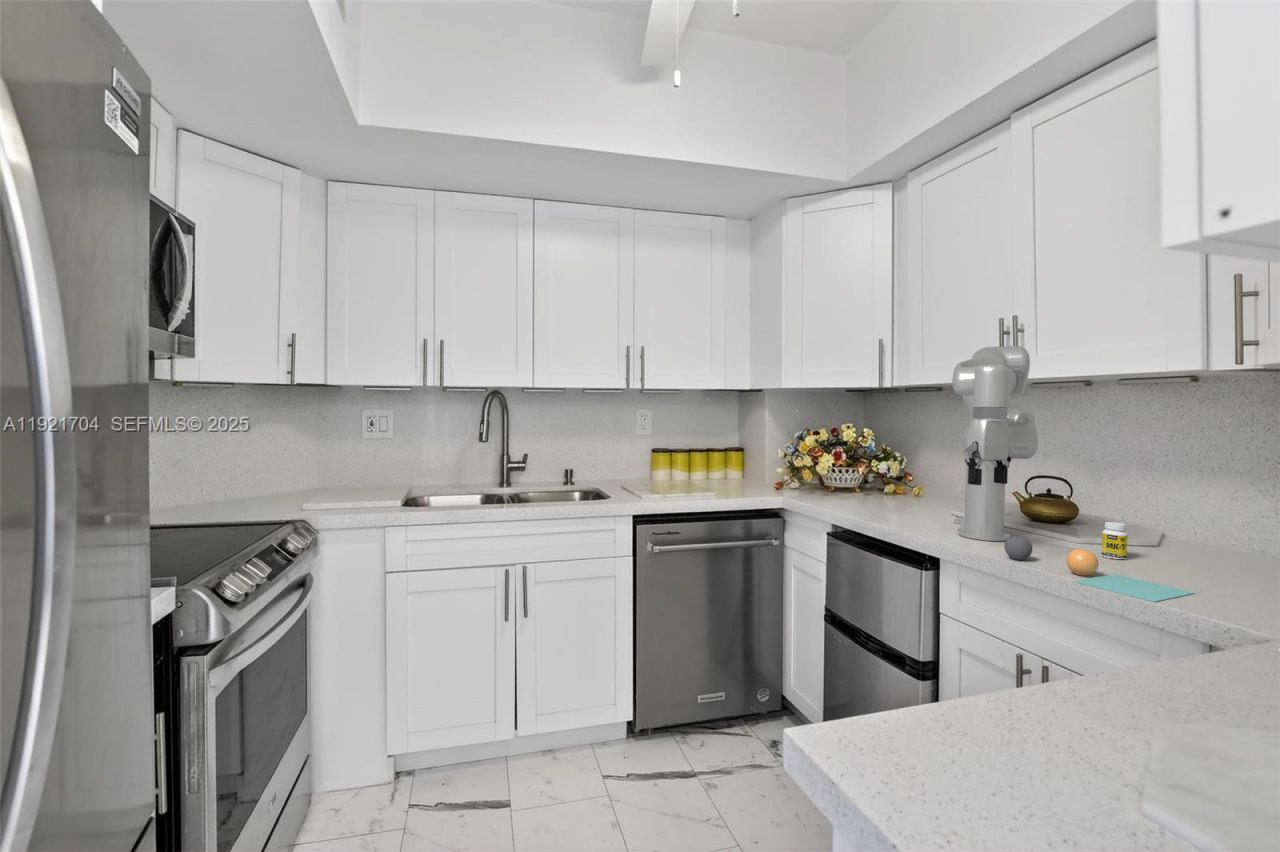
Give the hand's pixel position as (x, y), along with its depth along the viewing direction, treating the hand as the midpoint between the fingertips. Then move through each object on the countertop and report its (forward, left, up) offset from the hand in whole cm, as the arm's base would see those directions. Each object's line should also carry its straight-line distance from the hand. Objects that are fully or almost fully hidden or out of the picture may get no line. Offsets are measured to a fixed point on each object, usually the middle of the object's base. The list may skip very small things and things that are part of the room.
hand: (987, 483), depth 149 cm
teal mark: (+32, 0, -17) cm, 36 cm away
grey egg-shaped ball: (+8, 0, -14) cm, 16 cm away
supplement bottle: (+16, +24, -17) cm, 33 cm away
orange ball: (+22, 0, -14) cm, 26 cm away
